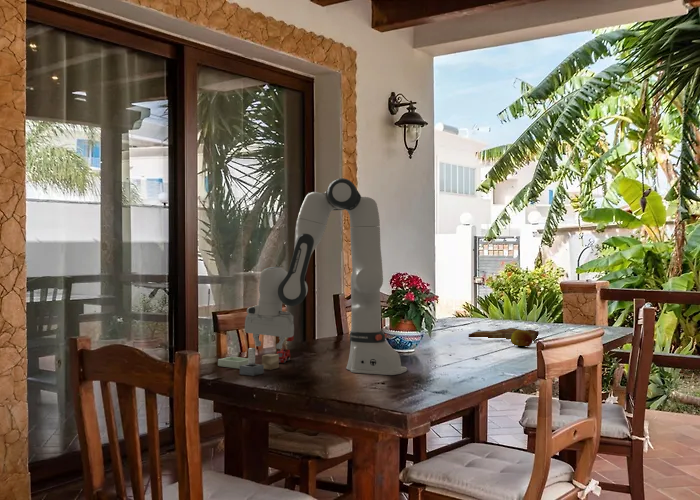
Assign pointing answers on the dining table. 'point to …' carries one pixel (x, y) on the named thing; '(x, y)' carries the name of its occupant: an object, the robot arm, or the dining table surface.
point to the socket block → (251, 369)
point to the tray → (232, 362)
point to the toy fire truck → (282, 354)
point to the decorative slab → (502, 333)
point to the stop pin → (251, 356)
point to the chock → (270, 361)
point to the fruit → (521, 338)
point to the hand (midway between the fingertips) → (268, 347)
